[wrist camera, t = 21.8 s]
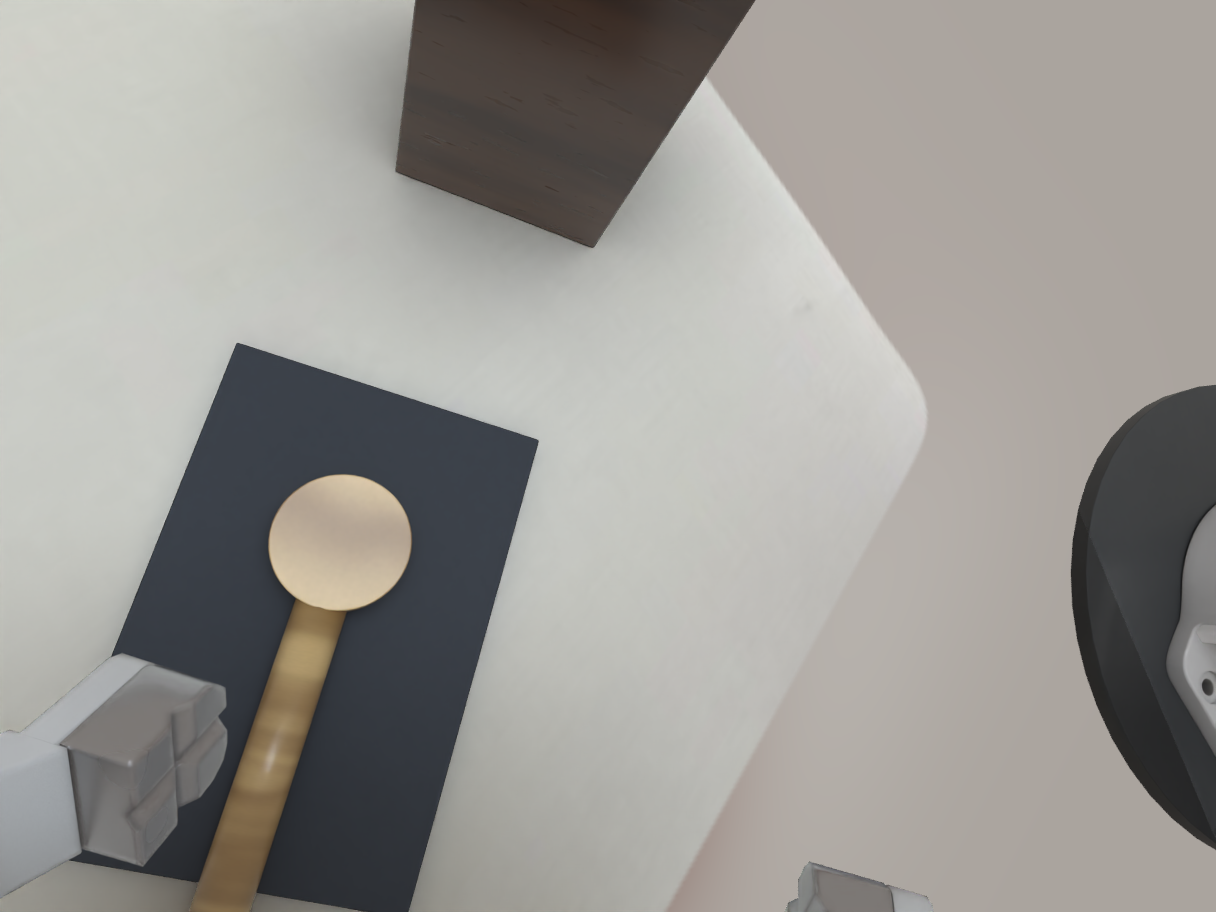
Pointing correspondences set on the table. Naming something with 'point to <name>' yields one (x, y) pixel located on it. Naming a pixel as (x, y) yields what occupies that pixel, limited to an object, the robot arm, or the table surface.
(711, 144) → the table surface
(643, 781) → the table surface
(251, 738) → the spoon
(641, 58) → the stand
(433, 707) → the mat
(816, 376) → the table surface
